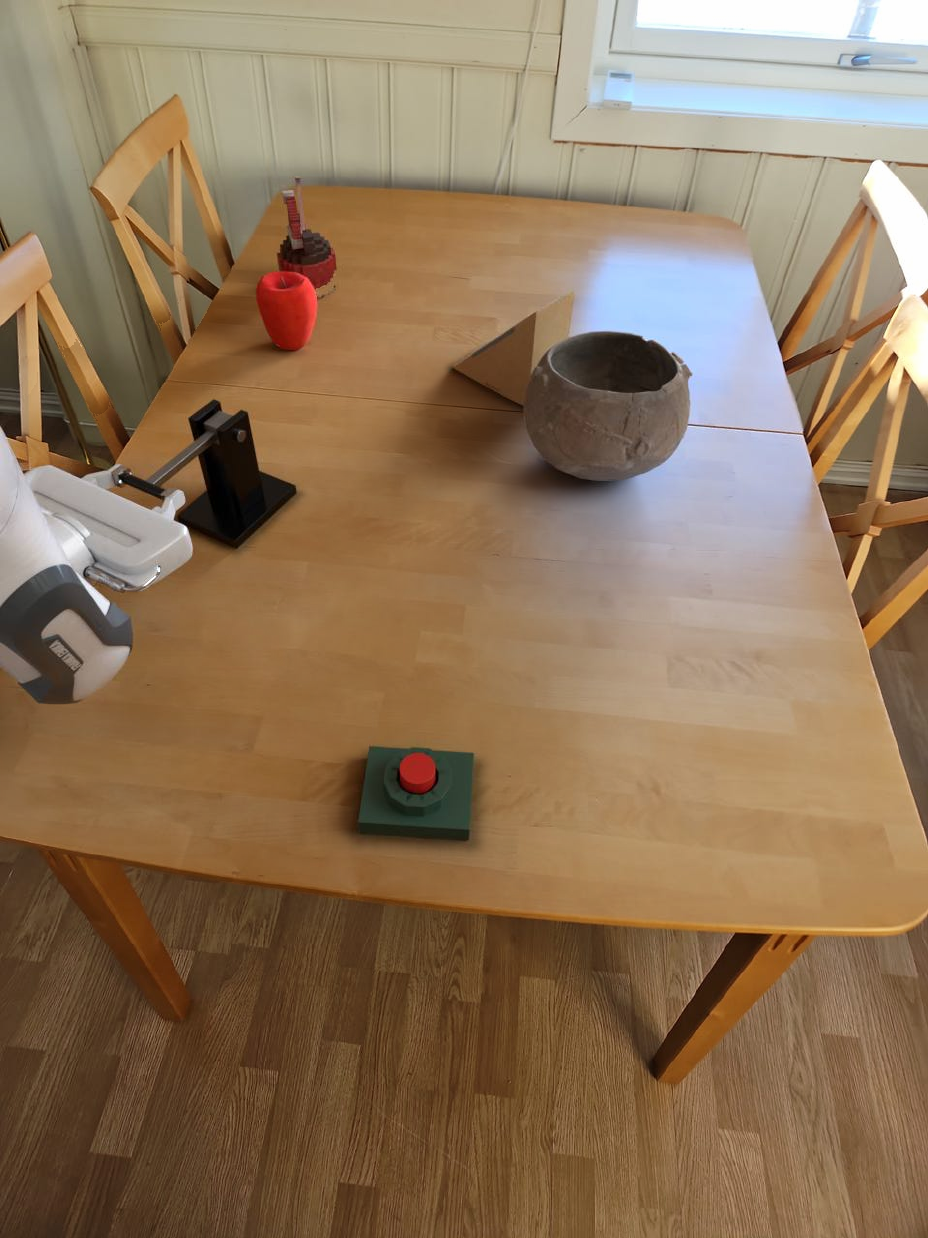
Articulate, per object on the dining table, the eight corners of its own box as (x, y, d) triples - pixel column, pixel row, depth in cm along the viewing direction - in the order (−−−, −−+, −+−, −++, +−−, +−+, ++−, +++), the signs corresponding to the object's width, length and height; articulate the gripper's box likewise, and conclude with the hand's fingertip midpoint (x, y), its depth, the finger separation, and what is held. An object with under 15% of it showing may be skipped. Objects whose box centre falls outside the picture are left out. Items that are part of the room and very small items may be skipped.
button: (398, 792, 73) (397, 782, 72) (402, 761, 75) (401, 751, 74) (433, 795, 73) (434, 785, 72) (436, 764, 75) (436, 754, 74)
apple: (326, 331, 132) (319, 265, 124) (313, 360, 126) (305, 293, 118) (271, 327, 132) (261, 260, 124) (257, 355, 126) (245, 288, 118)
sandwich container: (487, 346, 130) (493, 252, 119) (563, 385, 124) (576, 289, 113) (450, 367, 126) (452, 271, 115) (526, 408, 119) (536, 311, 108)
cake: (342, 300, 139) (333, 187, 125) (287, 306, 137) (271, 193, 123) (331, 271, 145) (321, 161, 132) (278, 276, 143) (262, 166, 130)
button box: (359, 833, 74) (356, 812, 71) (370, 758, 80) (368, 735, 77) (468, 841, 74) (470, 820, 71) (473, 764, 80) (475, 742, 77)
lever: (168, 508, 87) (162, 491, 85) (125, 490, 89) (119, 472, 87) (251, 438, 95) (247, 421, 93) (210, 422, 97) (206, 405, 95)
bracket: (236, 548, 98) (214, 455, 88) (178, 523, 101) (150, 429, 91) (296, 493, 105) (282, 400, 95) (241, 470, 108) (221, 378, 98)
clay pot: (495, 478, 109) (503, 379, 97) (551, 398, 121) (564, 302, 110) (649, 527, 103) (676, 428, 92) (690, 438, 116) (719, 341, 105)
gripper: (123, 574, 74) (223, 491, 82) (-36, 497, 80) (73, 427, 88) (140, 621, 79) (234, 538, 87) (-11, 545, 85) (91, 474, 93)
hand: (152, 481), depth 88 cm, fingers closed on lever, 6 cm apart
